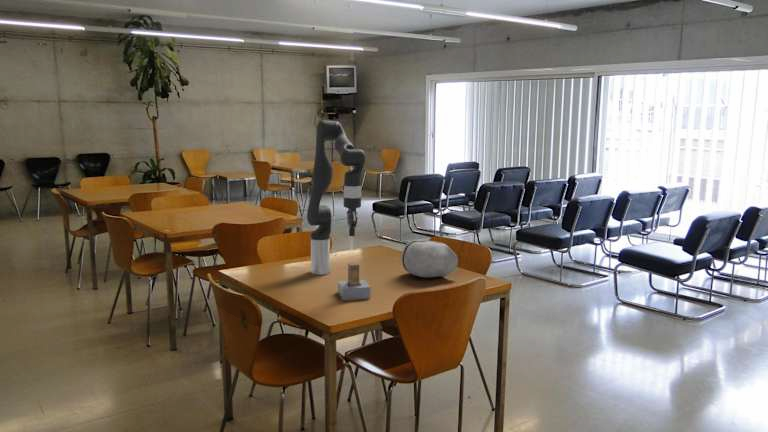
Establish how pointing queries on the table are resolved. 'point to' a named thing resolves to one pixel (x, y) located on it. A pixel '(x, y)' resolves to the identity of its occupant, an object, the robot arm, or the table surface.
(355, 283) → the peg
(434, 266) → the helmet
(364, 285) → the socket
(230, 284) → the table surface
